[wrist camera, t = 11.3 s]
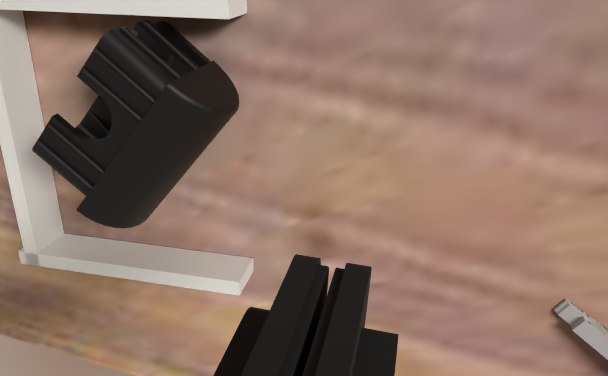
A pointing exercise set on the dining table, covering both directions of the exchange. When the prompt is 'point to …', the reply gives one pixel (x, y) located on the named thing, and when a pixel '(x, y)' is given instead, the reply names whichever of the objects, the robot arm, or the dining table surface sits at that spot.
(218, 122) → the end cap
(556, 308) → the caliper
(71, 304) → the dining table surface
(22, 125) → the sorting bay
